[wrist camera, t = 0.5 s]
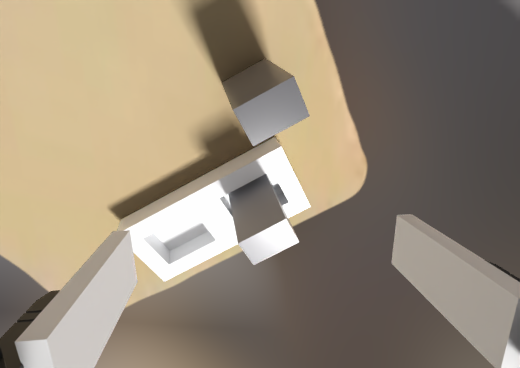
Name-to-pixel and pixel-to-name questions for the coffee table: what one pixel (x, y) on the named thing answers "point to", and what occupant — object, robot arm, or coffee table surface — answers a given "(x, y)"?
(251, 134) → the grey rectangular block
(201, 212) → the socket strip
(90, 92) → the coffee table surface
